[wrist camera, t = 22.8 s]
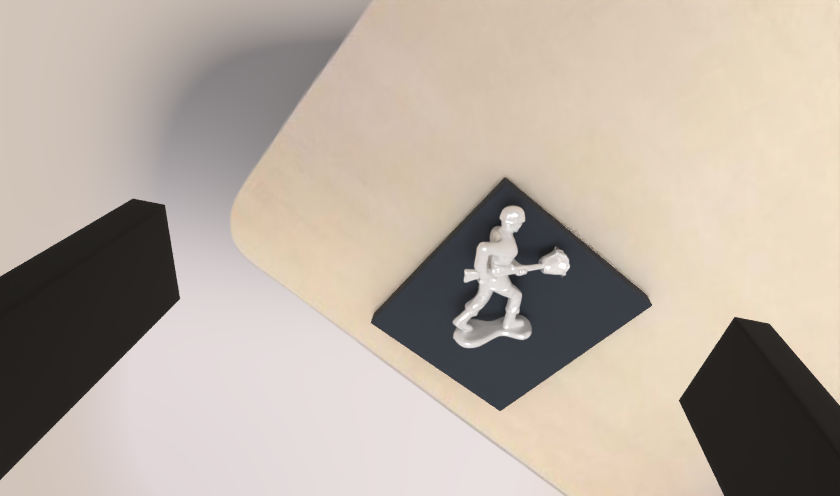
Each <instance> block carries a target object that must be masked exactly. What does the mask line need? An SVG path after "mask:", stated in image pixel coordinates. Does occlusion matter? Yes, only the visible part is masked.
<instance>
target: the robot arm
mask: <svg viewBox="0 0 840 496" xmlns="http://www.w3.org/2000/svg"><path fill="white" fill-rule="evenodd" d="M179 299H180V296H179V290H178V284H177V278H176V271H175V265H174V259H173V253H172V247H171V241H170V234H169V229H168V222H167V216H166V210H165V205H163V204H158V203H152V202H147V201H142V200H136V199H132V200H130V201H128V202H126V203H125V204H123V205H122V206H120V207H118V208H116V209H115V210H113V211H111V212H109V213H108V214H106V215H104V216H103V217H101V218H99V219H97V220H96V221H94V222H92V223H91V224H89V225H87V226H86V227H84V228H82V229H80V230H79V231H77V232H75V233H74V234H72V235H70V236H69V237H67V238H65V239H64V240H62V241H60V242H58V243H57V244H55V245H53V246H51V247H50V248H48V249H46V250H45V251H43V252H41V253H40V254H38V255H36V256H34V257H33V258H31V259H29V260H28V261H26V262H24V263H23V264H21V265H19V266H17V267H16V268H14V269H12V270H11V271H9V272H7V273H6V274H4V275H2V276H1V277H0V480H1V479H2V477H3V476H5V474H7V473H8V472H9V471H10V469H12V467H13V466H14V465H15V464H16V463H17V462H18V461H19V460H20V459H21V458H22V457H23V456H24V455H25V454H26V453H27V452H28V451H29V450H30V449H31V448H32V447H33V446H34V445H35V444H36V443H37V442H38V441H39V440H40V439H41V438H42V437H43V436H44V435H45V434H46V433H47V432H48V431H49V430H50V429H51V428H52V427H53V426H54V425H55V424H56V423H57V422H58V421H59V420H60V419H61V418H62V417H63V416H64V415H65V414H66V413H67V412H68V411H69V410H70V409H71V408H72V407H73V406H74V405H75V404H76V403H77V402H78V401H79V400H80V399H81V398H82V397H83V396H84V395H85V394H86V393H87V392H88V391H89V390H90V389H91V388H92V387H93V386H94V385H95V384H96V383H97V382H98V381H99V380H100V379H101V378H102V377H103V376H104V375H105V374H106V373H107V372H108V371H109V370H110V369H111V368H112V367H113V366H114V365H115V364H116V363H117V362H118V361H119V360H120V359H121V358H122V357H123V356H124V355H125V354H126V353H127V351H129V350H130V349H131V348H132V347H133V346H134V345H135V344H136V343H137V342H138V341H139V340H140V339H141V338H142V337H143V336H144V334H145V333H147V331H149V329H151V328H152V326H153V325H155V323H157V322H158V320H160V318H161V317H162V316H163V315H164V314H165V313H166V312H167V311H168V310H169V309H170V308H171V307H172V306H173V305H174V304H175V303H176V302H177V301H178V300H179ZM679 402H680V404H681V406H682V408H683V410H684V412H685V414H686V416H687V418H688V420H689V423H690V425H691V427H692V429H693V431H694V433H695V435H696V437H697V439H698V442H699V444H700V446H701V448H702V450H703V452H704V454H705V456H706V458H707V460H708V463H709V465H710V467H711V469H712V471H713V473H714V475H715V477H716V479H717V481H718V484H719V486H720V488H721V490H722V492H723V494H724V496H840V405H839V404H838V403H837V402H836V401H835V400H834V398H833V397H832V396H831V395H830V394H829V393H828V391H827V390H826V389H825V388H824V387H823V386H822V384H821V383H820V382H819V381H818V380H817V379H816V377H815V376H814V375H813V374H812V373H811V372H810V370H809V369H808V368H807V367H806V366H805V365H804V363H803V362H802V361H801V360H800V359H799V358H798V357H797V355H796V354H795V353H794V352H793V351H792V350H791V348H790V347H789V346H788V345H787V344H786V343H785V341H784V340H783V339H782V338H781V337H780V336H779V334H778V333H777V332H776V331H775V330H774V329H773V327H772V326H771V325H770V324H768V323H763V322H758V321H753V320H747V319H742V318H737V317H734V319H733V320H732V322H731V323H730V325H729V326H728V328H727V329H726V331H725V332H724V334H723V335H722V337H721V338H720V340H719V341H718V343H717V344H716V346H715V347H714V349H713V350H712V352H711V353H710V355H709V356H708V358H707V359H706V361H705V362H704V364H703V365H702V367H701V368H700V370H699V371H698V373H697V374H696V376H695V377H694V379H693V380H692V382H691V383H690V385H689V386H688V388H687V389H686V391H685V392H684V394H683V395H682V397H681V398H680V400H679Z"/></svg>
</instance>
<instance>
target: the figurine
mask: <svg viewBox="0 0 840 496" xmlns="http://www.w3.org/2000/svg"><path fill="white" fill-rule="evenodd" d="M500 220H501V226H495V227H494V228H493V229H492V230H491V233H490V242H481V243H479V245H478V247H477V251H476V257H475V262H474V268H475V269H465V270H464V282H465V283H466V282H469V281H472V280H475V279H477V281H478V283H479V287H478V288H479V289H478V292H477V294H476V296H475V297H474V298H472V299H471V300H470V301H468V302H467V303H466V304H465V310H464V311H463V312H462V313H461V314H459V315H458V316H457V317H456V318H455V319H454V320H453V324H454V325H455V326H456V329H455V331H454V333H453V338H454V339H455V341H456V342H457V343H458V344H459V345H460V346H462V347H465V348H475V347H479V346H481V345H483V344H485V343H487V342H489V341H490V340H492V339H494V338H496V337H498V336H508V337H512V338H515V339H519V340H524V339H527V338H528V337H529V336H530V335H531V333H532V327H531V324H530V322H529V320H528V319H527V318H526V317H524V316H522V315H519V311H520V304H521V300H522V292H521V291H520V290H519V289H518V288H517V287H516V286H515V285H514V284H512V283H511V280H510V278H509V276H508V275H512V274H516V275H517V276H521V275H525V274H527V271H533V270H538V269H540V271H541V272H542V273H544V274H553V275H561V276H562V277H563V276H565V275H566V272H567V271H568V269H569V267H570V265H569V259H568V258H567V255H566V254H564V252H563V250H560V249H558V248H559V247H558V248H557V246H555V248H554V250H553V251H552V252H551V253H549V254H547V255H544V256H543V257H541V258H540V259H539V262H538V264H534V265H522V264H520V263H518V262H517V261H516V260H515V259H514V258H515V257H516V256H517V254H518V247H517V244H516V241H515V238H514V236H513V233H514V232H518V230H519V228H520V227H521V225H522V223H523V222H525V213H524V211H523V209H522V208H520V207H518V206H514V205H511V206H507V207H505V208H504V209H503V210H502V212H501V215H500ZM556 248H557V249H556ZM493 292H496V293H498V294H500V295H502V296H505V297H508V301H507V305H506V307H505V310H506V314H505V316H504V317H501V318H499V319H496V320H493V321H483V320H478V319H470V318H471V317H473V316H477V314H478V312H479V311H480V310H481V309H482V308H483V307H484V306H485V305H486V303H487V302H488V301H489V299H490V297H491V295H492V293H493Z"/></svg>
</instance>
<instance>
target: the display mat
mask: <svg viewBox="0 0 840 496" xmlns="http://www.w3.org/2000/svg"><path fill="white" fill-rule="evenodd" d="M511 205H514V206H518V207H520V208H522V209H523V211H524V213H525V222H523V223H522V225H521V227H520V228H519V230H518V232H514V233H513V236H514V238H515V241H516V244H517V247H518V254H517V256H516V257H515V258H514V259H515V260H516V261H517V262H518V263H520V264H522V265H534V264H538V262H539V259H540V258H541V257H543V256H544V255H547V254H549V253H551V252H552V251H553V250H554V248H555V246H557V248H558V247H559V248H558V249H560V250H563V252H564V254H566V255H567V258H568V259H569V265H570V267H569V269H568V271H567V272H566V275H565V276H563V277H562V276H561V275H553V274H544V273H542V272H541V271H540V269H538V270H533V271H527V274H525V275H521V276H517V275H516V274H512V275H508V276H509V278H510V280H511V283H512V284H514V285H515V286H516V287H517V288H518V289H519V290H520V291H521V292H522V300H521V304H520V311H519V315H522V316H524V317H526V318H527V319H528V320H529V322H530V324H531V327H532V333H531V335H530V336H529V337H528V338H527V339H524V340H519V339H515V338H512V337H508V336H498V337H496V338H494V339H492V340H490V341H489V342H487V343H485V344H483V345H481V346H479V347H475V348H465V347H462V346H460V345H459V344H458V343H457V342H456V341H455V339H454V338H453V333H454V331H455V329H456V326H455V325H454V324H453V320H454V319H455V318H456V317H457V316H458V315H459V314H461V313H462V312H463V311H464V310H465V304H466V303H467V302H468V301H470V300H471V299H472V298H474V297H475V296H476V294H477V292H478V289H479V288H478V287H479V283H478V281H477V279H475V280H472V281H469V282H466V283H465V282H464V270H465V269H475V268H474V262H475V257H476V251H477V247H478V245H479V243H481V242H490V233H491V230H492V229H493V228H494V227H495V226H501V220H500V215H501V212H502V210H503V209H504V208H505V207H507V206H511ZM557 248H556V249H557ZM507 301H508V297H505V296H502V295H500V294H498V293H496V292H493V293H492V295H491V297H490V299H489V301H488V302H487V303H486V305H485V306H484V307H483V308H482V309H481V310H480V311H479V312H478V314H477V316H473V317H471V318H470V319H478V320H483V321H493V320H496V319H499V318H501V317H504V316H505V314H506V310H505V307H506V305H507ZM651 306H652V304H651V302H650V300H649V298H648V296H647V295H646V294H645V293H643V292H642V291H641V290H640V289H639V288H637V287H636V286H635V285H634V284H633V283H631V282H630V281H629V280H628V279H627V278H625V277H624V276H623V275H622V274H621V273H619V272H618V271H617V270H616V269H615V268H613V267H612V266H611V265H610V264H609V263H607V262H606V261H605V260H604V259H603V258H601V257H600V256H599V255H598V254H597V253H595V252H594V251H593V250H592V249H591V248H589V247H588V246H587V245H586V244H585V243H583V242H582V241H581V240H580V239H579V238H577V237H576V236H575V235H574V234H573V233H571V232H570V231H569V230H568V229H566V228H565V227H564V226H563V225H562V224H560V223H559V222H558V221H557V220H556V219H554V218H553V217H552V216H551V215H550V214H548V213H547V212H546V211H545V210H544V209H542V208H541V207H540V206H539V205H538V204H536V203H535V202H534V201H533V200H532V199H530V198H529V197H528V196H527V195H526V194H524V193H523V192H522V191H521V190H520V189H518V188H517V187H516V186H515V185H514V184H512V183H511V182H510V181H509V180H508V179H506V178H504V179H503V180H502V181H501V182H500V183H499V184H498V185H497V186H496V187H495V189H494V190H493V191H492V192H491V193H490V194H489V195H488V196H487V197H486V198H485V199H484V200H483V201H482V202H481V203H480V204H479V205H478V206H477V207H476V208H475V209H474V210H473V211H472V212H471V213H470V214H469V216H468V217H467V218H466V219H465V220H464V221H463V222H462V223H461V224H460V225H459V226H458V227H457V228H456V229H455V230H454V231H453V232H452V233H451V234H450V235H449V236H448V237H447V238H446V239H445V240H444V242H443V243H442V244H441V245H440V246H439V247H438V248H437V249H436V250H435V251H434V252H433V253H432V254H431V255H430V256H429V257H428V258H427V259H426V260H425V261H424V262H423V263H422V264H421V265H420V266H419V267H418V269H417V270H416V271H415V272H414V273H413V274H412V275H411V276H410V277H409V278H408V279H407V280H406V281H405V282H404V283H403V284H402V285H401V286H400V287H399V288H398V289H397V290H396V291H395V292H394V293H393V294H392V296H391V297H390V298H389V299H388V300H387V301H386V302H385V303H384V304H383V305H382V306H381V307H380V308H379V309H378V310H377V311H376V312H375V313H374V315H373V318H372V321H371V323H372V324H373V325H375V326H376V327H378V328H379V329H381V330H382V331H384V332H385V333H386V334H388V335H389V336H391V337H392V338H394V339H395V340H397V341H398V342H400V343H401V344H403V345H404V346H406V347H407V348H408V349H410V350H411V351H413V352H414V353H416V354H417V355H419V356H420V357H422V358H423V359H425V360H426V361H428V362H429V363H430V364H432V365H433V366H435V367H436V368H438V369H439V370H441V371H442V372H444V373H445V374H447V375H448V376H449V377H451V378H452V379H454V380H455V381H457V382H458V383H460V384H461V385H463V386H464V387H466V388H467V389H469V390H470V391H471V392H473V393H474V394H476V395H477V396H479V397H480V398H482V399H483V400H485V401H486V402H488V403H489V404H490V405H492V406H493V407H495V408H496V409H498V410H499V411H501V410H503V409H504V408H505V407H507V406H508V405H510V404H511V403H513V402H514V401H516V400H517V399H518V398H520V397H521V396H523V395H524V394H526V393H527V392H528V391H530V390H531V389H533V388H534V387H536V386H537V385H539V384H540V383H541V382H543V381H544V380H546V379H547V378H549V377H550V376H551V375H553V374H554V373H556V372H557V371H559V370H560V369H562V368H563V367H564V366H566V365H567V364H569V363H570V362H572V361H573V360H574V359H576V358H577V357H579V356H580V355H582V354H583V353H585V352H586V351H587V350H589V349H590V348H592V347H593V346H595V345H596V344H597V343H599V342H600V341H602V340H603V339H605V338H606V337H608V336H609V335H610V334H612V333H613V332H615V331H616V330H618V329H619V328H620V327H622V326H623V325H625V324H626V323H628V322H629V321H631V320H632V319H633V318H635V317H636V316H638V315H639V314H641V313H642V312H643V311H645V310H646V309H648V308H649V307H651Z"/></svg>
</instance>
